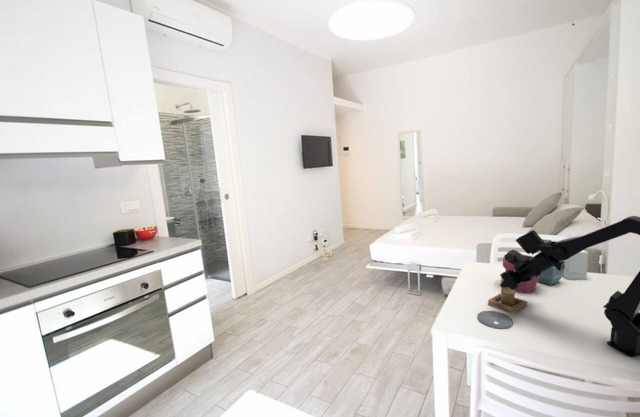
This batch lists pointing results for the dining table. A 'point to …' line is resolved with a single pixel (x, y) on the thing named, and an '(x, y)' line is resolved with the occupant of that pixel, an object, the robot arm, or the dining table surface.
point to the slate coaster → (495, 319)
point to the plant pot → (525, 286)
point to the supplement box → (576, 266)
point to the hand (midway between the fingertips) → (504, 284)
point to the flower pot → (551, 276)
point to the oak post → (507, 295)
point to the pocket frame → (513, 310)
